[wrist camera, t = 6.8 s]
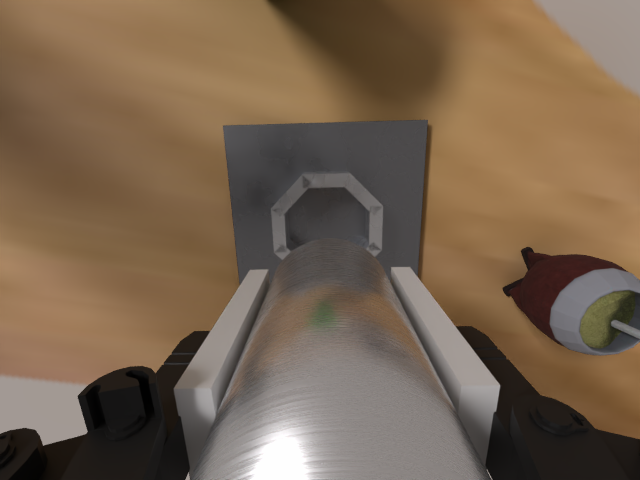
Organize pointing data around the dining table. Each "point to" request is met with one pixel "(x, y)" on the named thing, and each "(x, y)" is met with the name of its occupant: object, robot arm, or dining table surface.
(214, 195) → the dining table surface
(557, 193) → the dining table surface
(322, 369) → the elbow
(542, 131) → the dining table surface
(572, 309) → the mate gourd
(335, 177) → the duct flange
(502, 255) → the dining table surface
